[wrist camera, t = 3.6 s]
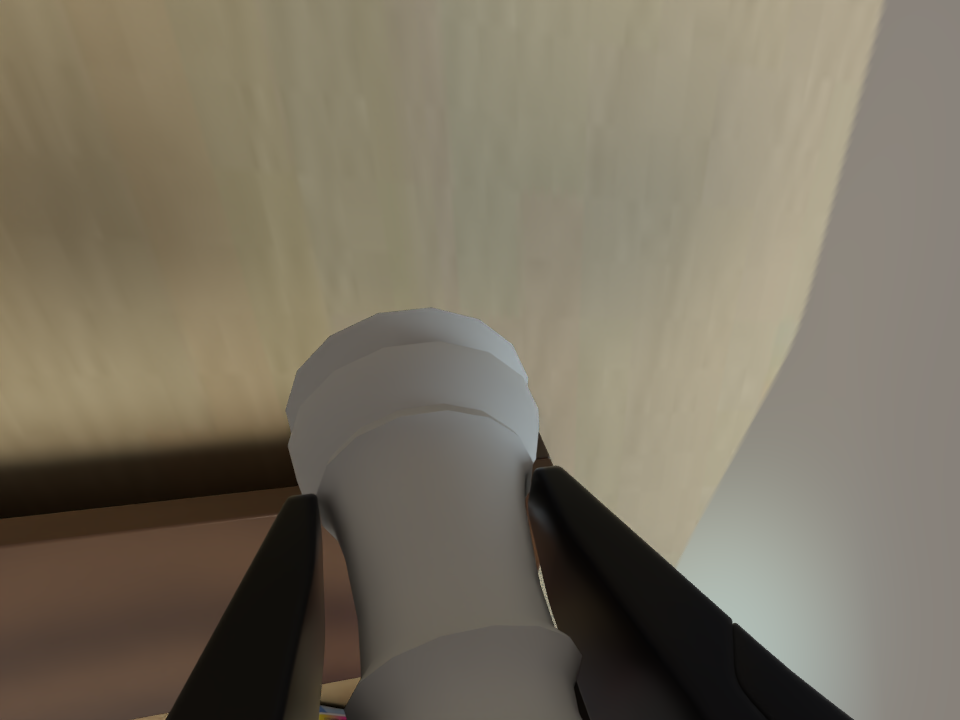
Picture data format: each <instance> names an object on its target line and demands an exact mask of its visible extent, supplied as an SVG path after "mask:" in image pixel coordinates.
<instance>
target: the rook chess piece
mask: <svg viewBox="0 0 960 720" xmlns="http://www.w3.org/2000/svg"><path fill="white" fill-rule="evenodd" d="M527 384H528V377H527V375H526V372H525V370H524V368H523V366H522V364H521V362H520V359H519V357H518V355H517V353H516V351H515V349H514V346H513V345H512V344H511V343H510V342H508V341H507V340H506V339H504V338H503V337H502V336H501V335H499V334H498V333H497V332H495V331H494V330H493V329H491V328H490V327H489V326H487V325H486V324H485V323H483V322H482V321H481V320H480V319H476V318H472V317H468V316H464V315H460V314H456V313H452V312H448V311H444V310H440V309H436V308H422V309H413V310H403V311H394V312H384V313H377V314H375V315H373V316H371V317H369V318H367V319H365V320H362V321H360V322H358V323H356V324H354V325H352V326H350V327H348V328H346V329H343V330H341V331H339V332H337V333H335V334H333V335H331V336H329V337H328V338H327V339H326V341H325V342H324V343H323V344H322V345H321V346H320V347H319V348H318V349H317V350H316V351H315V352H314V353H313V354H312V355H311V357H310V358H309V359H308V360H307V361H306V362H305V363H304V364H303V365H302V366H301V367H300V368H299V369H298V370H297V373H296V376H295V380H294V383H293V386H292V390H291V393H290V396H289V400H288V403H287V407H286V414H287V418H288V422H289V426H290V430H291V436H290V439H289V443H288V448H289V452H290V456H291V460H292V464H293V467H294V471H295V475H296V479H297V482H298V485H299V488H300V490H301V493H302V494H310V493H312V494H315V495H316V496H317V499H318V506H319V513H320V519H321V523H322V526H323V527H324V528H325V529H326V530H327V531H328V532H329V533H330V534H331V535H332V536H333V537H334V538H335V539H336V540H338V542H339V545H340V547H341V550H342V553H343V555H344V558H345V561H346V566H347V570H348V575H349V580H350V585H351V590H352V595H353V600H354V604H355V609H356V614H357V619H358V631H359V649H360V666H361V680H360V681H359V683H358V685H357V687H356V688H355V690H354V692H353V694H352V696H351V698H350V699H349V701H348V703H347V705H346V707H345V709H344V712H345V715H346V719H347V720H582V718H581V716H580V714H579V710H578V706H577V701H576V696H575V691H574V686H575V683H576V680H577V677H578V672H579V668H580V664H581V659H582V654H581V653H580V651H579V650H578V648H577V647H576V645H575V644H574V642H573V641H572V639H571V638H570V637H569V636H567V635H566V634H564V633H563V632H561V631H560V630H558V629H557V628H555V627H554V624H553V621H552V618H551V615H550V612H549V609H548V606H547V603H546V600H545V597H544V594H543V592H542V589H541V586H540V581H539V576H538V570H537V565H536V560H535V554H534V549H533V543H532V538H531V533H530V527H529V522H528V516H527V511H526V503H525V498H526V496H527V495H528V493H529V492H530V487H531V478H532V468H533V463H534V461H535V460H536V452H537V442H538V432H539V414H538V408H537V405H536V403H535V401H534V399H533V397H532V395H531V393H530V391H529V388H528V386H527Z"/></svg>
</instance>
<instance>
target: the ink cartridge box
mask: <svg viewBox="0 0 960 720" xmlns="http://www.w3.org/2000/svg"><path fill="white" fill-rule="evenodd" d="M319 720H347V719H346V715H345V712H344V709H339V708H333V707H328V706H323V705H320V710H319Z"/></svg>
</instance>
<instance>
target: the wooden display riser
mask: <svg viewBox="0 0 960 720" xmlns="http://www.w3.org/2000/svg"><path fill="white" fill-rule="evenodd" d="M549 458H550V456H549V454H548V452H547V449H546V447H545V445H544V443H543V440H542V438H541V436H540V433H539V432H538V442H537V452H536V460H535V461H534V463H533V468H532V476H533V473H534V471H535V469H536V468H539V467H548V466H553V464H552V462H551V459H549ZM531 482H532V478H531ZM301 494H302V493H301V490H300V488H299V486H293V487H284V488H275V489H266V490H257V491H248V492H239V493H230V494H221V495H212V496H203V497H194V498H185V499H176V500H167V501H157V502H148V503H139V504H130V505H121V506H112V507H103V508H94V509H85V510H76V511H67V512H58V513H49V514H40V515H31V516H22V517H13V518H4V519H0V720H132V719H137V718H143V717H148V716H153V715H159V714H164V713H169V712H170V711H171V709H172V707H173V705H174V703H175V701H176V700H177V698H178V696H179V694H180V692H181V691H182V689H183V687H184V685H185V683H186V681H187V680H188V678H189V676H190V674H191V672H192V670H193V669H194V667H195V665H196V663H197V661H198V659H199V658H200V656H201V654H202V652H203V650H204V648H205V647H206V645H207V643H208V641H209V639H210V638H211V636H212V634H213V632H214V630H215V628H216V627H217V625H218V623H219V621H220V619H221V617H222V616H223V614H224V612H225V610H226V608H227V606H228V605H229V603H230V601H231V599H232V597H233V596H234V594H235V592H236V590H237V588H238V586H239V585H240V583H241V581H242V579H243V577H244V575H245V574H246V572H247V570H248V568H249V566H250V564H251V563H252V561H253V559H254V557H255V555H256V554H257V552H258V550H259V548H260V546H261V544H262V543H263V541H264V539H265V537H266V535H267V533H268V532H269V530H270V528H271V526H272V524H273V522H274V521H275V519H276V517H277V515H278V513H279V512H280V510H281V508H282V506H283V504H284V502H285V501H286V499H287V498H288V497H290V496H293V495H301ZM528 498H529V493H528V495H527V496H526V498H525V503H526V511H527V516H528V522H529V527H530V533H531V538H532V543H533V549H534V554H535V560H536V565H537V570H538V571H539V566H540V562H539V558H538V553H537V549H536V545H535V540H534V536H533V532H532V528H531V523H530V519H529V514H528ZM320 521H321V519H320ZM321 529H322V545H323V575H324V605H325V651H324V664H323V676H322V684H326V683H331V682H337V681H342V680H347V679H353V678H358V677H361V666H360V649H359V631H358V619H357V614H356V609H355V604H354V600H353V595H352V590H351V585H350V580H349V575H348V570H347V566H346V561H345V558H344V555H343V553H342V550H341V547H340V545H339V542H338V540H336V539H335V538H334V537H333V536H332V535H331V534H330V533H329V532H328V531H327V530H326V529H325V528H324V527H323V526H322V523H321Z"/></svg>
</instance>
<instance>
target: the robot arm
mask: <svg viewBox="0 0 960 720" xmlns="http://www.w3.org/2000/svg"><path fill="white" fill-rule="evenodd" d="M528 514H529V519H530V523H531V528H532V532H533V536H534V540H535V545H536V549H537V553H538V558H539V562H540V566H541V571H542V575H543V579H544V583H545V588H546V592H547V596H548V600H549V603H550V606H551V610H552V613H553V616H554V619H555V621H556V624H557V627H558V630H560V631H561V632H563V633H564V634H566V635H567V636H569V637H570V638H571V639H572V641H573V642H574V644H575V645H576V647H577V648H578V650H579V651H580V653H581V654H582V659H581V664H580V668H579V672H578V677H577V680H576V683H575V686H574V691H575V696H576V701H577V706H578V710H579V714H580V716H581V718H582V720H854V719H852V718H851V717H850V716H848V715H847V714H846V713H845V712H843V711H842V710H841V709H839V708H838V707H837V706H835V705H834V704H833V703H831V702H830V701H829V700H828V699H826V698H825V697H824V696H822V695H821V694H820V693H819V692H817V691H816V690H815V689H814V688H812V687H811V686H810V685H809V684H807V683H806V682H805V681H804V680H802V679H801V678H800V677H799V676H797V675H796V674H795V673H793V672H792V671H791V670H790V669H789V668H787V667H786V666H785V665H784V664H783V663H782V662H780V661H779V660H778V659H777V658H776V657H775V656H773V655H772V654H771V653H770V652H769V651H768V650H766V649H765V648H764V647H763V646H762V645H761V644H759V643H758V642H757V641H756V640H755V639H754V638H753V637H751V636H750V635H749V634H748V633H747V632H746V631H745V630H744V629H743V628H741V627H740V626H739V625H738V624H737V623H733V624H732V619H731V618H730V617H728V615H727V614H725V613H724V612H723V611H722V610H721V609H720V608H719V607H718V606H716V605H715V604H714V603H713V602H712V601H711V600H710V599H709V598H708V597H706V596H705V595H704V594H703V593H701V591H699V589H697V588H696V587H695V586H694V585H693V584H692V583H691V582H690V581H688V580H687V579H686V578H685V577H684V576H683V575H682V574H681V573H679V572H678V571H677V570H676V569H675V568H674V567H673V566H672V565H671V564H669V563H668V562H667V561H666V560H665V559H664V558H663V557H662V556H660V555H659V554H658V553H657V552H656V551H655V550H654V549H653V548H651V547H650V546H649V545H648V544H647V543H646V542H645V541H644V540H642V539H641V538H640V537H639V536H638V535H637V534H636V533H635V532H634V531H632V530H631V529H630V528H629V527H628V526H627V525H626V524H625V523H623V522H622V521H621V520H620V519H619V518H618V517H617V516H616V515H614V514H613V513H612V512H611V511H610V510H609V509H608V508H607V507H605V506H604V505H603V504H602V503H601V502H600V501H599V500H598V499H597V498H595V497H594V496H593V495H592V494H591V493H590V492H589V491H588V490H586V489H585V488H584V487H583V486H582V485H581V484H580V483H579V482H577V481H576V480H575V479H574V478H573V477H572V476H571V475H570V474H568V473H567V472H566V471H565V470H564V469H563V468H561V467H559V466H548V467H539V468H536V469H535V471H534V473H533V476H532V482H531V487H530V492H529V498H528ZM324 651H325V605H324V575H323V545H322V529H321V521H320V513H319V506H318V499H317V496H316V495H315V494H312V493H310V494H301V495H293V496H290V497H288V498H287V499H286V501H285V502H284V504H283V506H282V508H281V510H280V512H279V513H278V515H277V517H276V519H275V521H274V522H273V524H272V526H271V528H270V530H269V532H268V533H267V535H266V537H265V539H264V541H263V543H262V544H261V546H260V548H259V550H258V552H257V554H256V555H255V557H254V559H253V561H252V563H251V564H250V566H249V568H248V570H247V572H246V574H245V575H244V577H243V579H242V581H241V583H240V585H239V586H238V588H237V590H236V592H235V594H234V596H233V597H232V599H231V601H230V603H229V605H228V606H227V608H226V610H225V612H224V614H223V616H222V617H221V619H220V621H219V623H218V625H217V627H216V628H215V630H214V632H213V634H212V636H211V638H210V639H209V641H208V643H207V645H206V647H205V648H204V650H203V652H202V654H201V656H200V658H199V659H198V661H197V663H196V665H195V667H194V669H193V670H192V672H191V674H190V676H189V678H188V680H187V681H186V683H185V685H184V687H183V689H182V691H181V692H180V694H179V696H178V698H177V700H176V701H175V703H174V705H173V707H172V709H171V711H170V712H169V714H168V716H167V718H166V720H319V710H320V699H321V687H322V676H323V664H324Z"/></svg>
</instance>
